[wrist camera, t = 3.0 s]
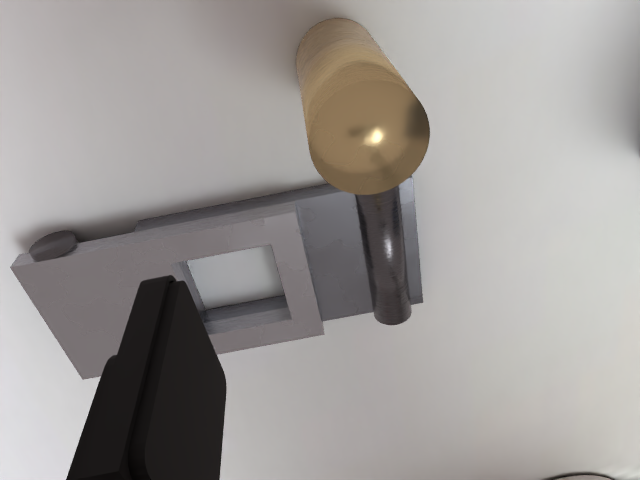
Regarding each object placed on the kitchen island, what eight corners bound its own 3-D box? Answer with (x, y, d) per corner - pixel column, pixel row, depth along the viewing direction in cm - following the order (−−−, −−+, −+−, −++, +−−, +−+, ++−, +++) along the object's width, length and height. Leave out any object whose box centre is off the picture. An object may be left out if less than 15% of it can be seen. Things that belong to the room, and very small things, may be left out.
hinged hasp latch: (407, 163, 29) (417, 183, 27) (418, 293, 34) (427, 318, 32) (25, 238, 29) (7, 263, 27) (95, 354, 35) (84, 382, 33)
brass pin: (372, 10, 24) (426, 68, 16) (381, 93, 26) (432, 182, 18) (288, 27, 24) (297, 94, 16) (304, 108, 26) (320, 204, 18)
